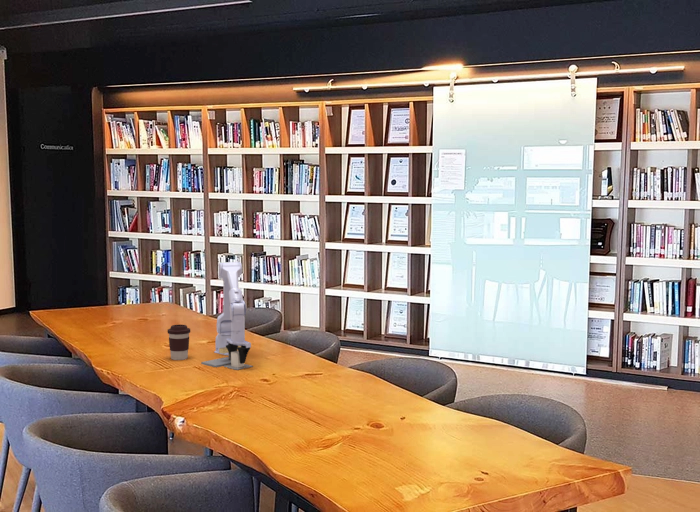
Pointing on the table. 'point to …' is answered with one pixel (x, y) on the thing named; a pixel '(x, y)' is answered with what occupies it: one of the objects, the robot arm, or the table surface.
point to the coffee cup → (179, 341)
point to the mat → (239, 367)
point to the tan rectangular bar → (224, 350)
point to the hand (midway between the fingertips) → (238, 362)
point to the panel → (218, 362)
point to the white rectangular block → (236, 359)
